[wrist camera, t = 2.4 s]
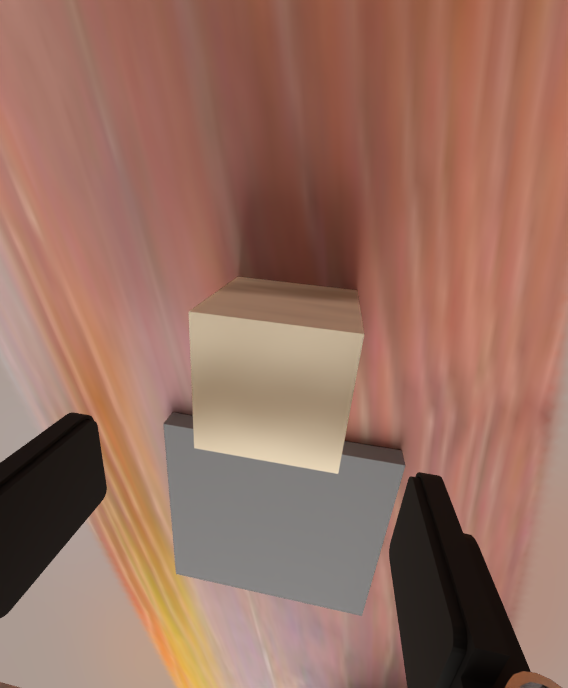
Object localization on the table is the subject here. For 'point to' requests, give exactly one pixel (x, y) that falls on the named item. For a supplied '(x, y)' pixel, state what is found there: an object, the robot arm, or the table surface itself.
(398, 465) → the slate mat
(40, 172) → the table surface
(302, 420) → the birch cube
